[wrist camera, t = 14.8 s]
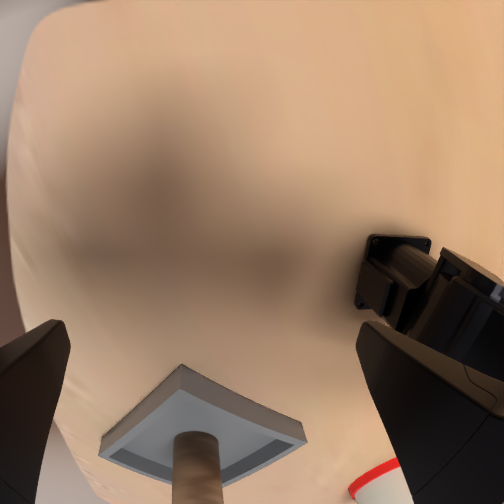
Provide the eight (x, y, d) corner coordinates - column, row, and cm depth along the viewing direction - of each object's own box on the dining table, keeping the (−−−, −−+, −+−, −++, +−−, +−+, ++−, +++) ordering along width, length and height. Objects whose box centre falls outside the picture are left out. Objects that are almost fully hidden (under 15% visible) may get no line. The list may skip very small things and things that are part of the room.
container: (403, 448, 39) (435, 509, 25) (428, 455, 44) (455, 502, 31) (333, 490, 42) (353, 549, 28) (370, 493, 47) (389, 539, 34)
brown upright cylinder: (225, 436, 28) (234, 524, 18) (209, 455, 29) (214, 534, 19) (181, 426, 27) (180, 518, 17) (168, 446, 28) (166, 528, 18)
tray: (181, 363, 24) (179, 388, 22) (301, 422, 30) (307, 442, 27) (102, 436, 28) (97, 455, 25) (205, 477, 33) (206, 494, 30)
